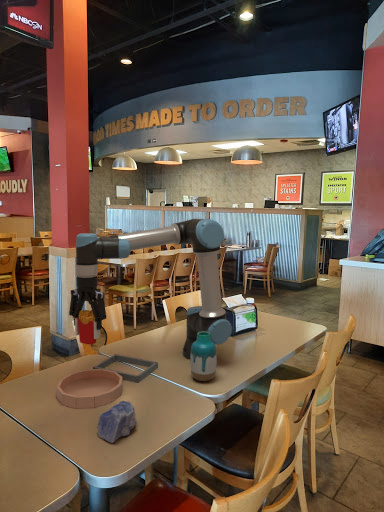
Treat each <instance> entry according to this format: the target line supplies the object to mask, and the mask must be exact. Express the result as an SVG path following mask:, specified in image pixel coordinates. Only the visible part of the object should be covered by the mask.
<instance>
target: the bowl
mask: <svg viewBox="0 0 384 512" xmlns="http://www.w3.org/2000/svg"><path fill="white" fill-rule="evenodd" d="M106 369H107V368H105V369H93V368H89V369H84V370H80V371H75V372H71V373H69V374H67V375H66V376H64V377H62V378H61V379H59V382H57V383H58V384H57V385H56V399H57V400H58V402H59V403H60V404H61V405H62V406H66V407H69V408H73V409H78V410H79V409H94V408H98V407H103V406H104V405H107V404H112V403H113V402H114V401H115V400H116V399H119V397H121V396H122V393H123V381H124V380H123V379H122V376H120V375H119V374H118V373H117V372H115V371H116V370H114V371H110V370H111V369H109V370H106Z"/></svg>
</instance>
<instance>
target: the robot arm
mask: <svg viewBox="0 0 384 512" xmlns="http://www.w3.org/2000/svg"><path fill="white" fill-rule="evenodd" d="M224 237H225V231H224V229H223V227H222V225H221V224H220V223H219V222H218V221H216V220H214V219H209V218H192V219H187V220H184V221H179V222H174V223H171V225H170V226H169V225H168V226H163V227H158V228H151V229H145V230H144V229H143V230H138V231H133V232H131V231H130V232H127V233H120V234H114V235H108V236H105V235H103V236H99V237H98V234H97V233H78V234H77V235H76V238H75V261H76V262H75V263H76V265H75V269H76V271H75V273H76V274H75V275H76V284H75V285H76V288H74V289H71V290H70V305H69V310H68V312H69V313H68V316H71V317H72V318H73V327H74V333H75V334H74V335H75V336H79V327H78V318H79V311H80V310H81V311H83V307H84V305H85V302H87V303H88V304H89V305H90V308H91V310H92V311H93V314H94V317H95V320H96V321H94V339H96V340H97V339H99V338H101V330H102V328H103V327H102V325H103V324H102V322H103V321H104V320H107V312H106V305H105V300H104V299H105V292H101V291H98V285H99V282H98V281H99V280H98V276H97V275H98V274H99V273H98V269H99V268H98V263H99V262H98V260H109V259H110V260H111V259H113V260H121V259H128V258H129V257H130V254H131V252H132V251H137V250H143V249H148V248H153V247H159V246H164V245H171V244H174V245H176V246H178V245H179V246H180V245H191V246H192V253H193V254H194V255H195V256H196V258H197V269H198V278H199V279H198V280H199V288H200V289H199V290H200V299H201V300H200V301H201V305H196V306H191V307H188V308H187V309H186V338H185V342H184V344H183V348H182V356H183V357H184V358H187V359H189V360H190V356H191V346H192V344H193V343H194V342H195V341H196V340H197V333H198V332H202V331H205V332H209V333H210V334H211V341H212V342H213V343H214V344H215V345H216V346H218V345H222V344H224V343H226V342H227V341H228V339H229V338H230V337H231V334H232V331H233V326H232V324H231V323H230V321H229V320H228V319H227V312H226V311H227V310H225V309H224V308H222V307H223V306H222V294H221V293H222V292H221V284H220V273H219V262H218V253H219V252H221V244H222V243H223V241H224V239H225V238H224Z"/></svg>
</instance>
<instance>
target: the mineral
mask: <svg viewBox="0 0 384 512" xmlns="http://www.w3.org/2000/svg"><path fill="white" fill-rule="evenodd" d="M136 416H137V415H136V410H135V407H134V405H133V404H132V402H131V401H128V400H126V401H125V400H121V401H120V400H119V402H118V403H116V404H114V405H113V406H112V407H110V408H109V409H108V410H106V411H104V412H103V413H100V414H99V417H98V422H97V426H96V428H97V429H96V430H97V436H98V437H99V438H100V439H102V440H105V441H107V442H109V443H111V444H113V443H115V442H116V441H117V440H118V439H119V438H122V437H125V436H128V435H130V433H131V430H132V429H133V428H135V426H136V424H137V423H138V420H137V417H136Z"/></svg>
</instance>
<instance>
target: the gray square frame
mask: <svg viewBox="0 0 384 512" xmlns="http://www.w3.org/2000/svg"><path fill="white" fill-rule="evenodd" d="M114 362H123V363H127V364H131V365H136V366H137V365H138V366H141V367H146V368H145V370H143V371H141V372H140V373H139V374H138V375H137V374H132V373H128V372H124V371H118V370H114V369H110V368H109V369H108V368H106V367H108V366H110V365H111V364H113V363H114ZM109 364H110V365H109ZM158 368H159V363H158V361H152V360H148V359H143V358H142V359H141V358H138V357H137V358H136V357H132V356H126V355H121V354H116V353H115V354H113V355H111V356H109V357H107V358H106V359H104V360H103V361H101V362H99V363H98V364H95V365H94V366H92V369H106V370H110V371H115V372H117V373H118V374H119V375H120V376H122V380H123V381H124V380H125V381H127V382H132V383H137V384H139V383H140V382H141V381H143V380H144V379H145V378H147V377H148V376H149V375H150V374H152V373H153V372H154V371H156V370H157V369H158Z"/></svg>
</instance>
